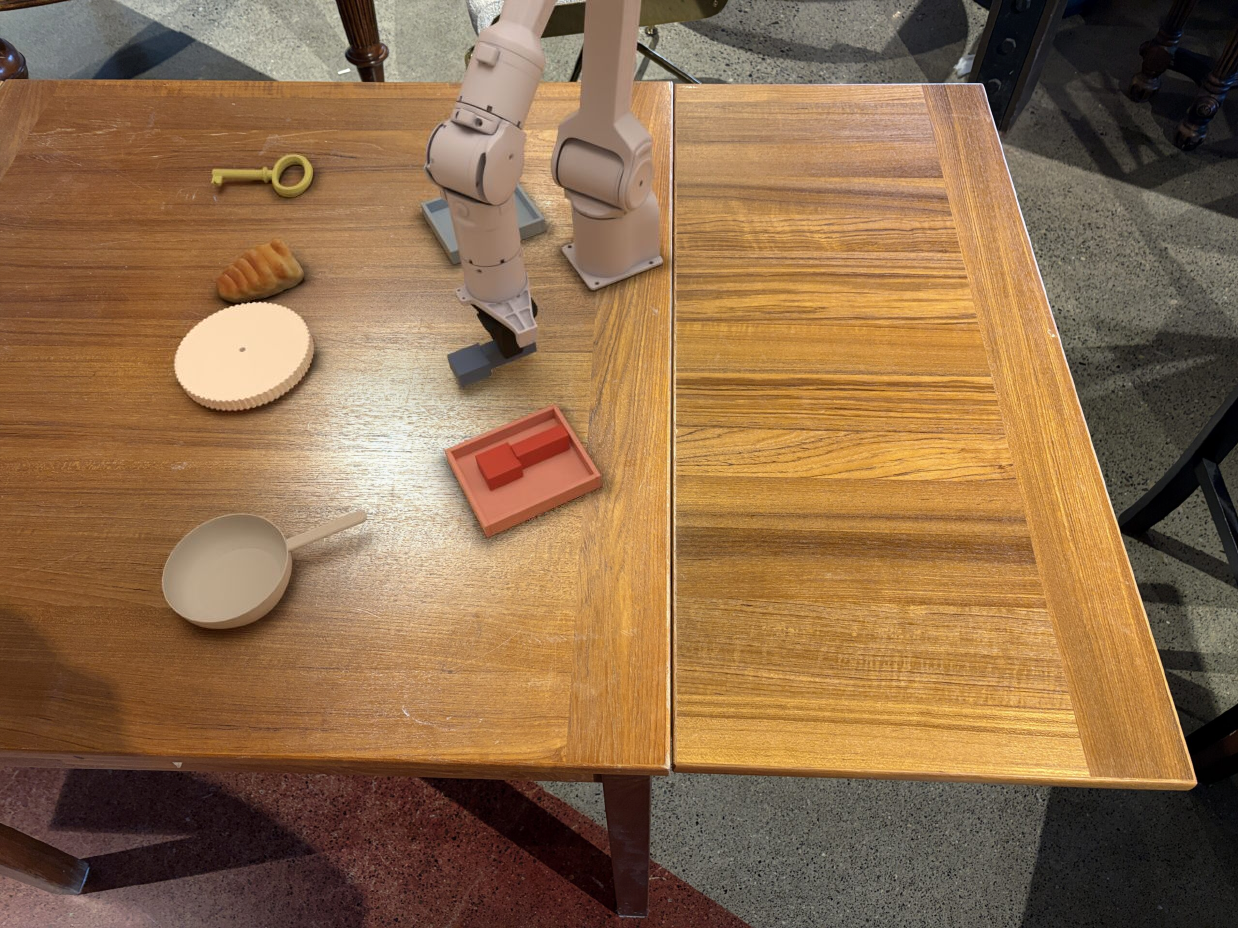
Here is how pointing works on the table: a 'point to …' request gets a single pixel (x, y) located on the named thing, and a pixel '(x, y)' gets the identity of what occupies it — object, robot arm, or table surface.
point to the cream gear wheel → (244, 356)
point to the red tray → (540, 482)
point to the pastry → (260, 273)
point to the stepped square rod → (480, 361)
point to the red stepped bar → (520, 456)
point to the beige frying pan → (236, 568)
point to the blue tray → (444, 231)
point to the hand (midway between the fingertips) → (508, 346)
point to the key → (270, 175)
